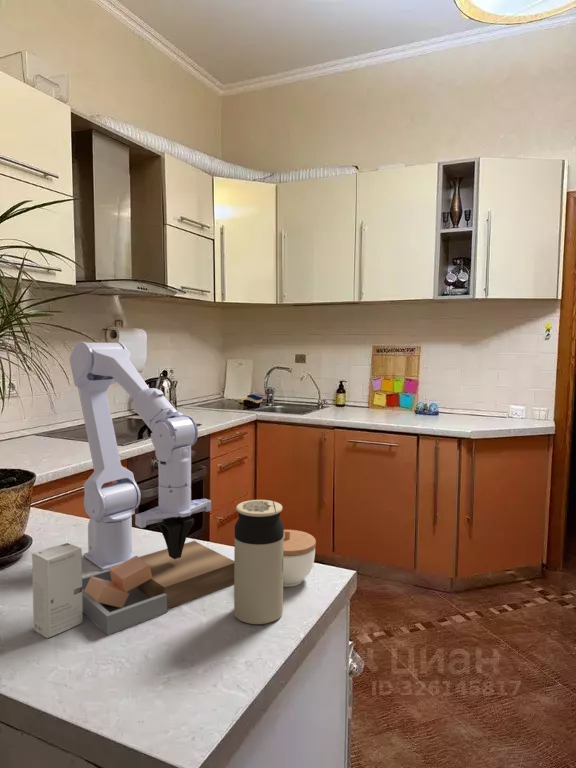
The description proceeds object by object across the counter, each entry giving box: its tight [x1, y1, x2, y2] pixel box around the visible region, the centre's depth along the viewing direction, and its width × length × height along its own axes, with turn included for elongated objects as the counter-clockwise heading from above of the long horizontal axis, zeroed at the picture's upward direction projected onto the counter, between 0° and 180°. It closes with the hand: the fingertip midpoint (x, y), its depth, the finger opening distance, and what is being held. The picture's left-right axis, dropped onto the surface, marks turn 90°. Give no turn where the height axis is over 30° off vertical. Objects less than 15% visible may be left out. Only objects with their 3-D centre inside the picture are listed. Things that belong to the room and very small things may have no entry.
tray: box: [82, 568, 168, 636], centre depth 90 cm, size 16×10×3 cm, turn 43°
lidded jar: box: [283, 529, 317, 588], centre depth 100 cm, size 11×11×9 cm
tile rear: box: [109, 556, 152, 592], centre depth 91 cm, size 5×5×2 cm
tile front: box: [84, 576, 129, 608], centre depth 89 cm, size 5×5×2 cm
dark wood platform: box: [135, 540, 234, 611], centre depth 98 cm, size 14×15×4 cm
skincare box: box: [31, 542, 84, 639], centre depth 83 cm, size 6×4×12 cm
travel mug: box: [233, 499, 285, 625], centre depth 87 cm, size 8×8×18 cm
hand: (175, 556), depth 97 cm, fingers closed
